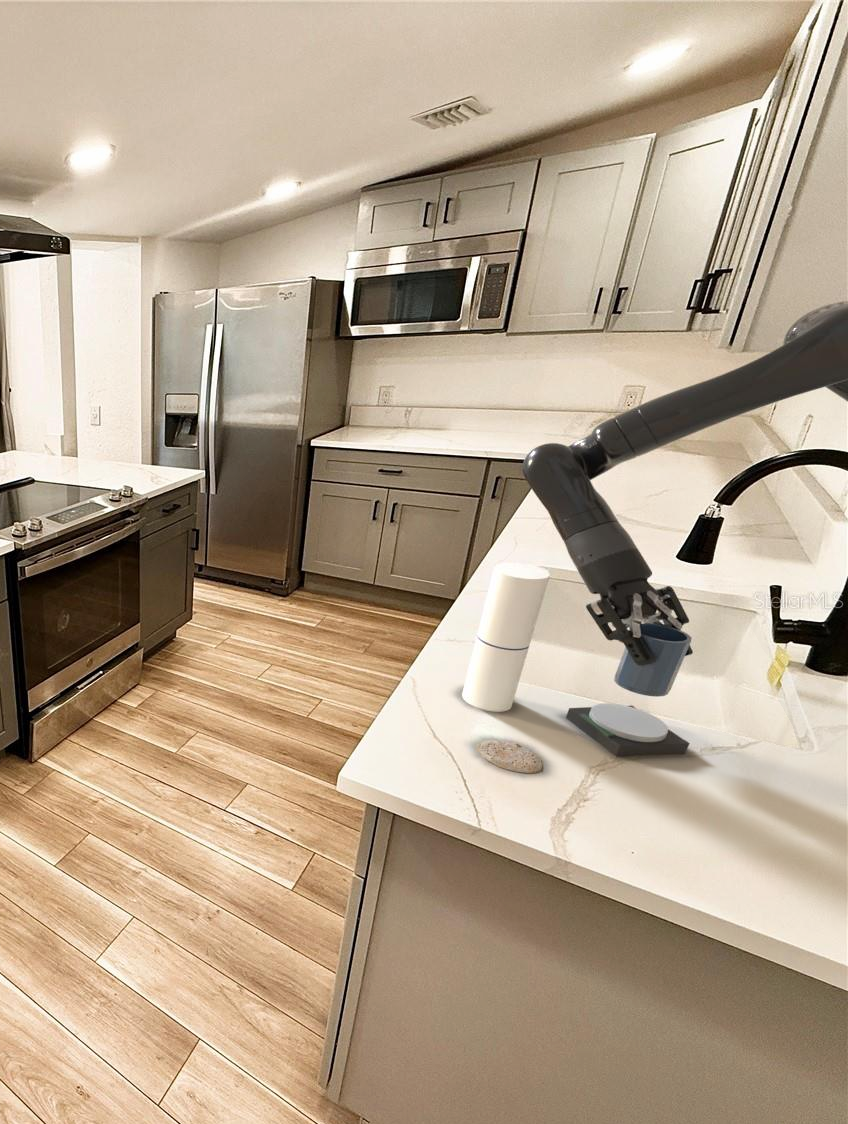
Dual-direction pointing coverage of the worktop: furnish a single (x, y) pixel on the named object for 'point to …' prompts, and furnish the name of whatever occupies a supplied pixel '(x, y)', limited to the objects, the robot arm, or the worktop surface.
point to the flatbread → (510, 756)
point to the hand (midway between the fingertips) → (666, 659)
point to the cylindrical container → (504, 635)
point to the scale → (627, 730)
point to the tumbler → (657, 675)
